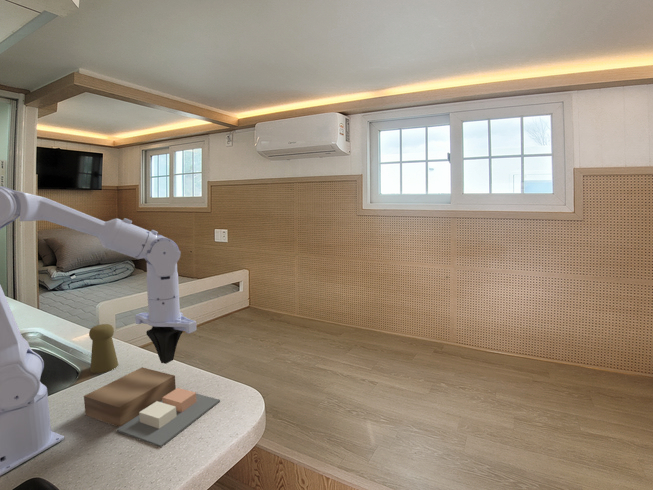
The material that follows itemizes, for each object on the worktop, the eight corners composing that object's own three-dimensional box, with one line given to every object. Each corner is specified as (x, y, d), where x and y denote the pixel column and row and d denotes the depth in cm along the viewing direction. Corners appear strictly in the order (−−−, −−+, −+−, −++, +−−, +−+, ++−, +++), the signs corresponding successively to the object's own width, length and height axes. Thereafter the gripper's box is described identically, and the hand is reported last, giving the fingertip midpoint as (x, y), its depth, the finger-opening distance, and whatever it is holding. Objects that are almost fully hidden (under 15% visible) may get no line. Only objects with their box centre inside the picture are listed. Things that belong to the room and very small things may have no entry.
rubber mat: (161, 447, 59) (161, 445, 59) (116, 431, 64) (116, 429, 64) (220, 401, 73) (220, 399, 73) (180, 390, 77) (180, 389, 77)
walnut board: (120, 427, 65) (119, 407, 64) (85, 415, 69) (83, 396, 68) (175, 392, 77) (174, 375, 76) (143, 383, 80) (142, 367, 80)
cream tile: (139, 412, 65) (139, 422, 66) (158, 418, 64) (159, 428, 64) (157, 401, 69) (157, 410, 69) (176, 406, 67) (176, 416, 67)
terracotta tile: (162, 397, 70) (162, 406, 71) (181, 402, 68) (181, 412, 69) (177, 387, 74) (178, 396, 74) (196, 392, 72) (196, 401, 72)
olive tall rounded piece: (121, 360, 92) (117, 320, 91) (115, 371, 87) (111, 328, 85) (94, 364, 90) (91, 323, 89) (86, 375, 85) (82, 331, 83)
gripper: (206, 295, 71) (209, 359, 72) (154, 288, 76) (157, 348, 78) (179, 304, 64) (182, 374, 66) (124, 296, 70) (128, 361, 71)
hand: (167, 361), depth 71 cm, fingers closed
